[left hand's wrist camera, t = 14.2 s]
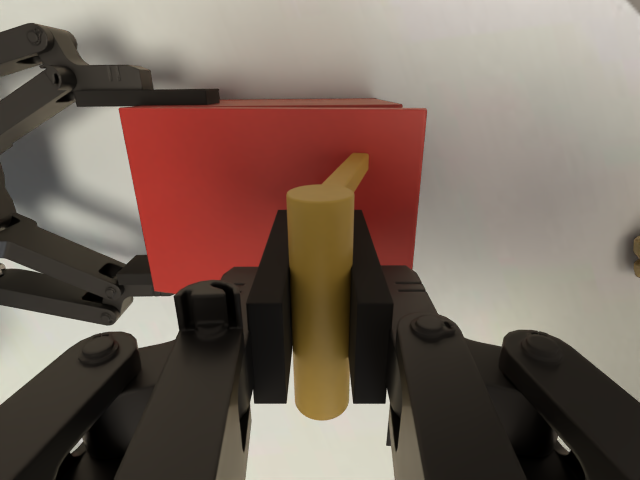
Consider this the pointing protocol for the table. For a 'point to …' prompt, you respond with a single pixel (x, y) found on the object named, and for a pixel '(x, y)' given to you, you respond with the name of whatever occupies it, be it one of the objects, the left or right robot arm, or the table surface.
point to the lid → (279, 194)
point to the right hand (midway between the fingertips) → (223, 189)
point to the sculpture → (639, 250)
